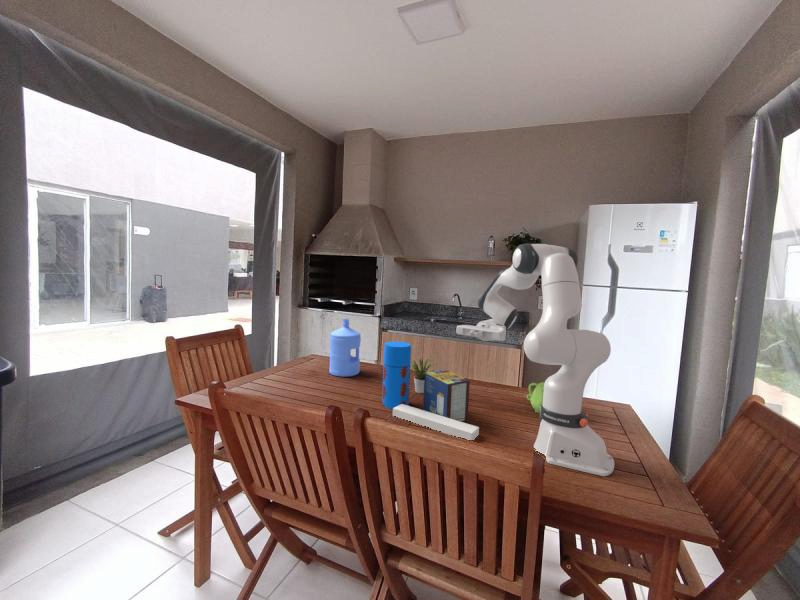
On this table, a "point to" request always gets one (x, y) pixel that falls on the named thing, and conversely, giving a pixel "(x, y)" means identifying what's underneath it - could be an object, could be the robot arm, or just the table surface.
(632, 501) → the table surface
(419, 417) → the board
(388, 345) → the thermos
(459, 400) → the protein box
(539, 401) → the teapot
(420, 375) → the house plant
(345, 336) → the water jug
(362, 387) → the table surface
